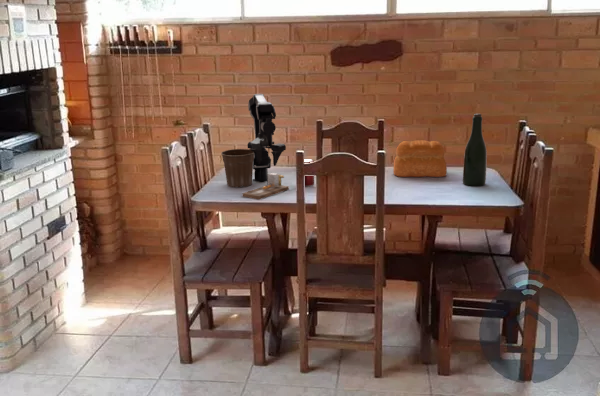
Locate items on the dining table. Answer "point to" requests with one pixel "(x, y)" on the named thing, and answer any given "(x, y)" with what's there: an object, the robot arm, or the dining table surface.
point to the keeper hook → (280, 179)
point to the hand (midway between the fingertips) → (267, 164)
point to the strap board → (264, 192)
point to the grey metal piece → (272, 181)
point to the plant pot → (238, 167)
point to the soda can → (309, 179)
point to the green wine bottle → (475, 156)
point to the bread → (420, 159)
